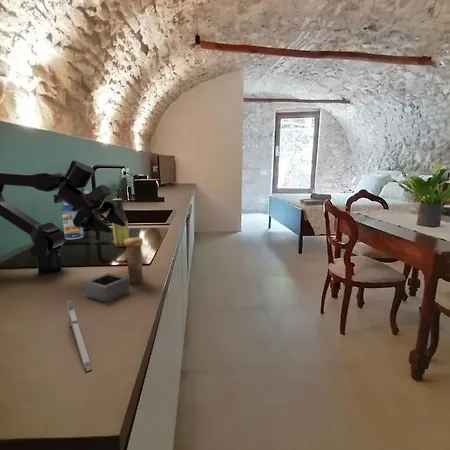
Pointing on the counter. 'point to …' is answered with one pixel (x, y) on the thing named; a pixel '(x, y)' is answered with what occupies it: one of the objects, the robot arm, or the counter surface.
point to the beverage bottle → (70, 223)
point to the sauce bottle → (120, 231)
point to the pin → (134, 259)
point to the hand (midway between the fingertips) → (118, 228)
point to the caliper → (77, 333)
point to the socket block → (106, 287)
